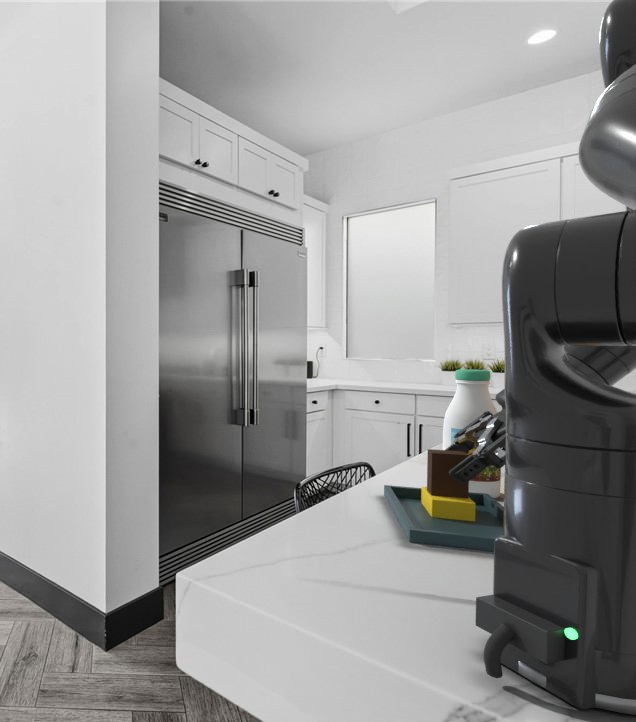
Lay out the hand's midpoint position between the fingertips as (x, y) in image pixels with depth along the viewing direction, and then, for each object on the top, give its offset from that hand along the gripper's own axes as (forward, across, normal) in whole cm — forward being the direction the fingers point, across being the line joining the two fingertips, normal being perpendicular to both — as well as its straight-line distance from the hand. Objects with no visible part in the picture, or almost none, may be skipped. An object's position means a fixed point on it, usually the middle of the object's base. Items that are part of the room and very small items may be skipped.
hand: (446, 472), depth 75 cm
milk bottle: (0, -14, +9) cm, 17 cm away
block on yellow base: (+4, 0, +4) cm, 6 cm away
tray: (+4, +4, +4) cm, 7 cm away
